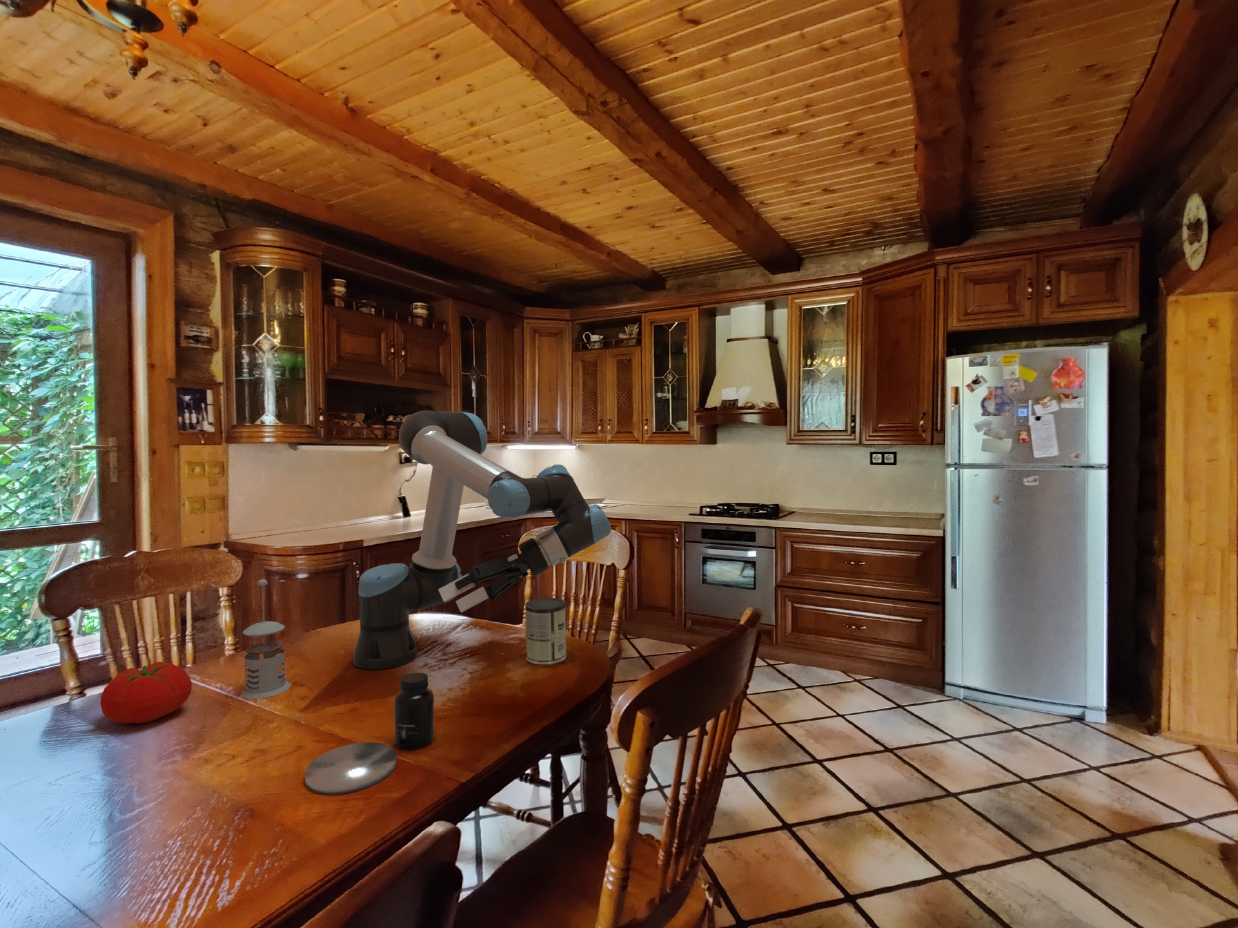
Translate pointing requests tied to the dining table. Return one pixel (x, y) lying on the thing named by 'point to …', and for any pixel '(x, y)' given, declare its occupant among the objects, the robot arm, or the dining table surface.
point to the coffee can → (546, 630)
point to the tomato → (145, 693)
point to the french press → (264, 660)
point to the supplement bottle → (414, 712)
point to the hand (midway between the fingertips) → (450, 601)
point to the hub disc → (350, 768)
